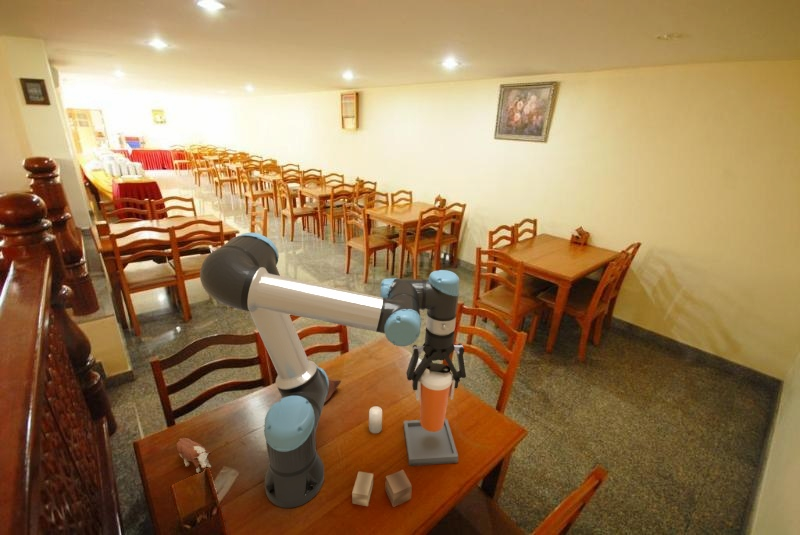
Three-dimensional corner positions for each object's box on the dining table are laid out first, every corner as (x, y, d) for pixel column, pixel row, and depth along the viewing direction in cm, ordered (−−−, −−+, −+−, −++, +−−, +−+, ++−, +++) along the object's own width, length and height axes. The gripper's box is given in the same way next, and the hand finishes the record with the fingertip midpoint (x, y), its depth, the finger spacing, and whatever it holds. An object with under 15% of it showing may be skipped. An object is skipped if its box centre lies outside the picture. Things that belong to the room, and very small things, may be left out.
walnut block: (393, 507, 88) (393, 493, 86) (385, 489, 92) (385, 476, 91) (410, 499, 90) (411, 485, 88) (402, 482, 94) (403, 469, 93)
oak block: (352, 503, 89) (352, 492, 87) (358, 481, 94) (358, 471, 93) (367, 506, 88) (367, 495, 87) (373, 484, 94) (373, 473, 92)
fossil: (342, 377, 128) (332, 367, 120) (346, 400, 122) (335, 391, 115) (310, 389, 128) (297, 380, 120) (312, 412, 123) (299, 404, 115)
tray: (409, 465, 99) (409, 459, 98) (403, 426, 112) (403, 420, 111) (457, 462, 101) (458, 456, 100) (446, 424, 114) (447, 418, 113)
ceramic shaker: (369, 433, 109) (369, 416, 106) (368, 423, 113) (369, 406, 110) (382, 433, 109) (382, 415, 107) (381, 423, 113) (381, 406, 111)
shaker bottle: (445, 437, 98) (452, 379, 91) (414, 431, 100) (418, 374, 92) (448, 414, 106) (454, 359, 99) (419, 408, 108) (423, 354, 101)
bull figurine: (204, 485, 91) (199, 463, 88) (176, 460, 98) (171, 438, 95) (220, 472, 95) (215, 450, 92) (192, 449, 101) (187, 427, 98)
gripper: (400, 337, 87) (397, 408, 95) (485, 335, 89) (475, 404, 97) (397, 322, 94) (395, 389, 102) (476, 320, 96) (467, 386, 104)
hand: (434, 397), depth 100 cm, fingers closed on shaker bottle, 9 cm apart
